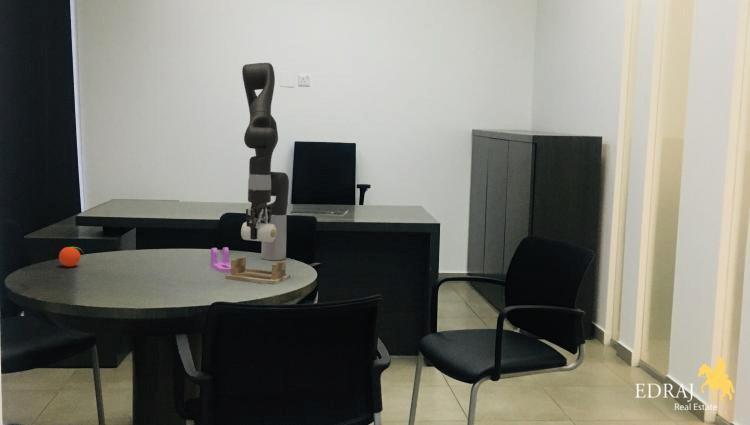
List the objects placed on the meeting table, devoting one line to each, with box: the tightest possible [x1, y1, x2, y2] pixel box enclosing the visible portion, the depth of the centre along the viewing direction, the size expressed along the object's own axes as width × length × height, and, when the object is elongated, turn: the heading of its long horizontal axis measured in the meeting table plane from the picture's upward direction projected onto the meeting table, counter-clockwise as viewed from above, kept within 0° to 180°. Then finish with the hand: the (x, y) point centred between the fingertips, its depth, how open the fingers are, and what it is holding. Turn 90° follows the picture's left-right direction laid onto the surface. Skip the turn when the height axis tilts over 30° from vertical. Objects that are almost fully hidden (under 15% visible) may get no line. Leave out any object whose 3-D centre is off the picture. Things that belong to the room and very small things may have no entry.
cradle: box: [225, 256, 291, 285], centre depth 256 cm, size 12×18×6 cm, turn 71°
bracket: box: [210, 246, 231, 273], centre depth 269 cm, size 13×6×7 cm, turn 27°
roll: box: [240, 221, 276, 242], centre depth 254 cm, size 11×6×6 cm, turn 71°
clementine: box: [58, 246, 85, 268], centre depth 264 cm, size 8×7×7 cm
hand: (258, 237), depth 255 cm, fingers closed on roll, 6 cm apart
